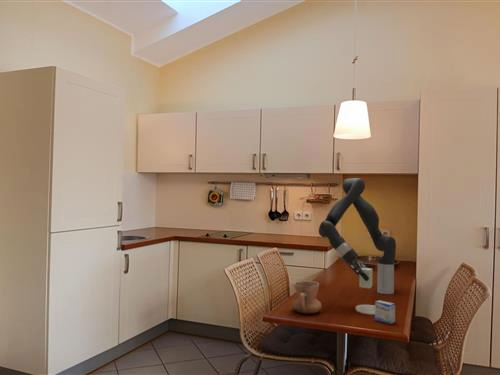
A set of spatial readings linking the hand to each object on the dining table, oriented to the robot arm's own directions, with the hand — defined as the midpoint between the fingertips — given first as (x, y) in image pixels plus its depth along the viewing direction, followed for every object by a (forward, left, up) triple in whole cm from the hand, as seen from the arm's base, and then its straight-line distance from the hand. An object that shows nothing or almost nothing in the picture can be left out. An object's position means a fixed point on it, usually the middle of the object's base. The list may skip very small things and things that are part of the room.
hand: (369, 278), depth 207 cm
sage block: (0, -2, -4) cm, 5 cm away
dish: (0, 0, -16) cm, 16 cm away
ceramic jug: (+20, -25, -16) cm, 36 cm away
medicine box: (+12, +11, -16) cm, 23 cm away
